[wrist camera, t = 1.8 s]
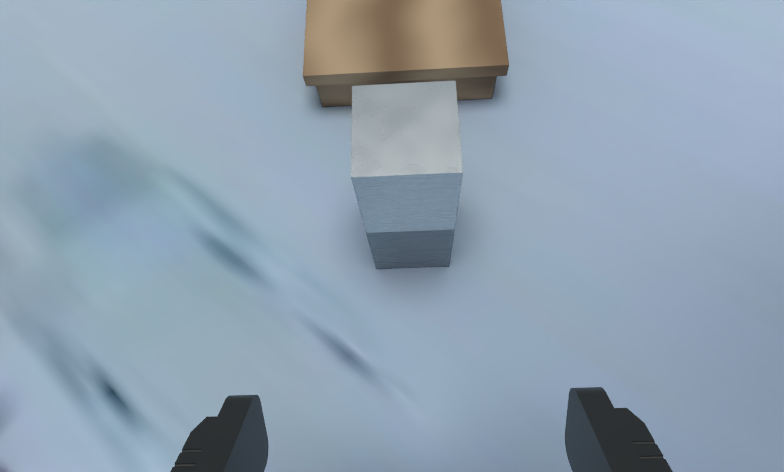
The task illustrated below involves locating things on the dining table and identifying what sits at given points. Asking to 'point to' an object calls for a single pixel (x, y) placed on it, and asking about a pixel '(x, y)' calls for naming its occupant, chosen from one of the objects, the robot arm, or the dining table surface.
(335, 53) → the walnut stand
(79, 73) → the dining table surface
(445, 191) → the block
